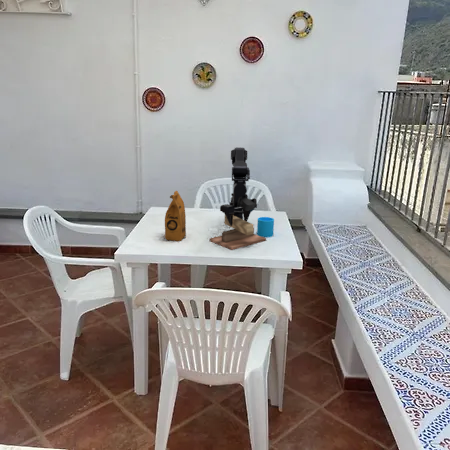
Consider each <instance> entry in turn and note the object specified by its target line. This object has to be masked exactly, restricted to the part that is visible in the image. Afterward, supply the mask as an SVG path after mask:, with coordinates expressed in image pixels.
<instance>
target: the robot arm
mask: <svg viewBox="0 0 450 450" xmlns="http://www.w3.org/2000/svg"><path fill="white" fill-rule="evenodd" d="M230 161H231V164H232V167H231V182H233V188H232V189H233V192H232V193H231V194H230V195H231V198H230V201H229V203H226V204H222V205H221V206H220V208H219V212H222V213H223V214H224V217H225V216H226V217H227V220H228V222H229V224H230V226H232V224H233V215H234V216H236V217H238V218H240V219H242V220H245V221H247V222H248V219H250V218H249V217H250V215H251V213H252V212H253V211H255V210H256V209H257V208H258V202H257V198H255V197H254V198H252V199H251V198H249V197H248V194H247V191H248V189H247V182H249V180H250V179H251V170H250V168H249V166H248V164H247V162H246V161H248V150H246V149H245V147H234V148H233V149H232V150H230ZM230 226H229V227H230Z"/></svg>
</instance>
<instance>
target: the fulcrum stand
mask: <svg viewBox="0 0 450 450" xmlns="http://www.w3.org/2000/svg"><path fill="white" fill-rule="evenodd" d="M265 241H267V237H261V236H258V235H257V234H255V227H254V228H253V234H250V235H246V234H244V233H242V232H240V231H238V230H236V229H234V228H232V229H228V230H223V231H222V232H221V235H219V236H214V237H213V236H212V237H211V238H209V242H211V243H214V244H217V245H218V246H221V247H224V248H226V249H228V250H232V251H233V250H236V249H240V248H244V247H247V246H251V245H255V244H258V243H262V242H265Z"/></svg>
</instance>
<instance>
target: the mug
mask: <svg viewBox="0 0 450 450" xmlns="http://www.w3.org/2000/svg"><path fill="white" fill-rule="evenodd" d="M256 225H257V227H256V228H257V229H256V231H257V232H256V235H258V236H261V237H264V238H271V237H274V230H275V229H274V227H275V226H274V225H275V219H274V218H273V217H270V216H259V217H257V224H256Z"/></svg>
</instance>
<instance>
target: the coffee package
mask: <svg viewBox="0 0 450 450" xmlns="http://www.w3.org/2000/svg"><path fill="white" fill-rule="evenodd" d="M178 191H179V190H175V191H174V193H173V194H172V195H170V196H169V199H172V200H171V201H170V203H169V206H168V208H167V210H166V211H165V216H164V239H165V240H166V241H171V242H172V241H175V242H182V241H183V239H184V238H186V235H187V230H186V229H187V228H186V227H187V226H186V223H187V222H186V221H187V220H186V219H187V217H186V208H185V203H184V201H183V198H182V197H181V195H180V193H179V192H178Z"/></svg>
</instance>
